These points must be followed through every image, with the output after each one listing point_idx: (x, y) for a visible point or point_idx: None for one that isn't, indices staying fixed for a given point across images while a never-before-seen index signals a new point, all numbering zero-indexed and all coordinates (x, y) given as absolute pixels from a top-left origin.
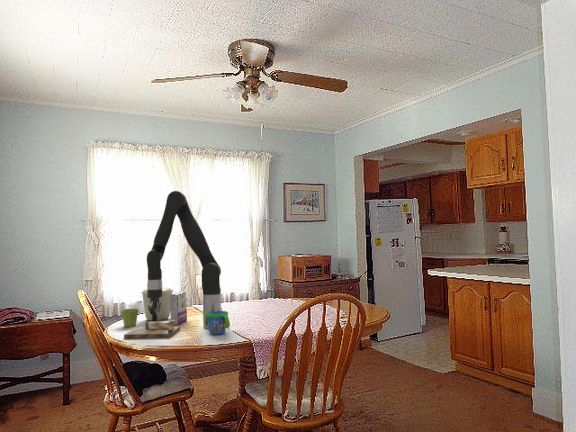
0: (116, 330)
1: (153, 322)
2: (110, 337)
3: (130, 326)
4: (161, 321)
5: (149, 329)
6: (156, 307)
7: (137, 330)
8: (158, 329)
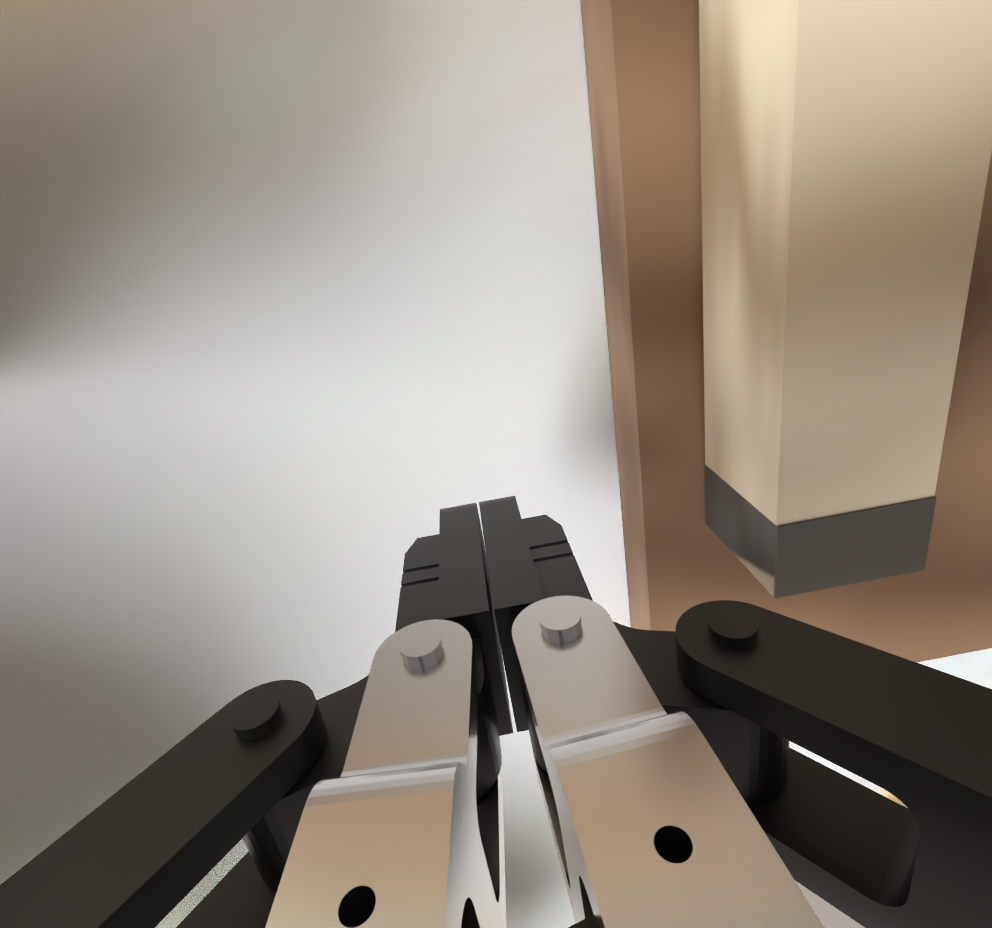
0: (558, 918)
1: (920, 386)
2: None
3: None
4: (801, 196)
5: None
6: (794, 890)
7: (913, 579)
8: None
